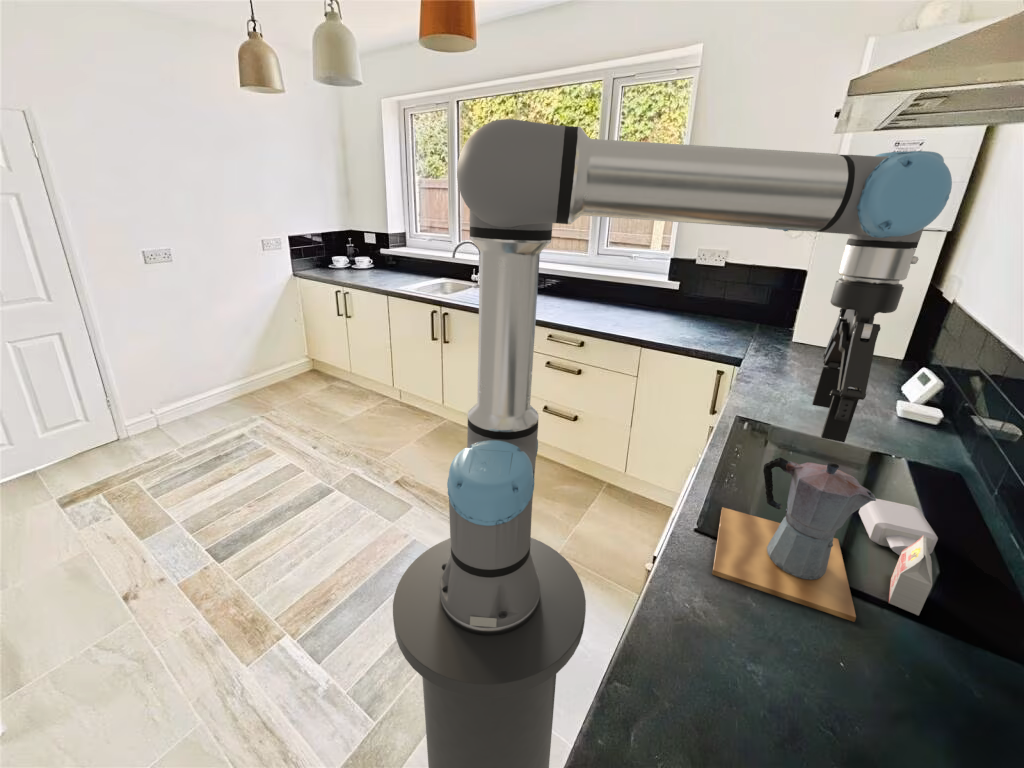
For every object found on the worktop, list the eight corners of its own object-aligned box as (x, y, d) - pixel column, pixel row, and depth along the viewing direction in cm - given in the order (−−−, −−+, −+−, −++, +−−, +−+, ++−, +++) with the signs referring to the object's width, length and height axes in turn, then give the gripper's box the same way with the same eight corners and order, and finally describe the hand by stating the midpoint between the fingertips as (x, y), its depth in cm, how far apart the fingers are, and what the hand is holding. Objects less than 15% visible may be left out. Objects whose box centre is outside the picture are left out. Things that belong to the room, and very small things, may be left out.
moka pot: (844, 600, 71) (884, 491, 64) (738, 556, 80) (763, 456, 73) (847, 565, 78) (883, 464, 71) (750, 529, 87) (773, 435, 80)
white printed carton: (919, 590, 75) (940, 540, 71) (918, 615, 70) (942, 563, 66) (890, 578, 77) (910, 530, 74) (888, 602, 72) (909, 552, 69)
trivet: (711, 574, 77) (713, 569, 77) (721, 511, 94) (722, 507, 93) (854, 622, 69) (856, 617, 68) (836, 543, 85) (838, 538, 85)
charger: (878, 563, 80) (857, 515, 93) (944, 580, 77) (913, 528, 90) (886, 541, 79) (864, 495, 92) (954, 557, 75) (921, 507, 88)
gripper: (934, 295, 50) (873, 464, 57) (883, 273, 71) (843, 399, 78) (852, 288, 53) (804, 449, 61) (826, 269, 74) (793, 390, 81)
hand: (826, 421), depth 69 cm, fingers open, 13 cm apart
